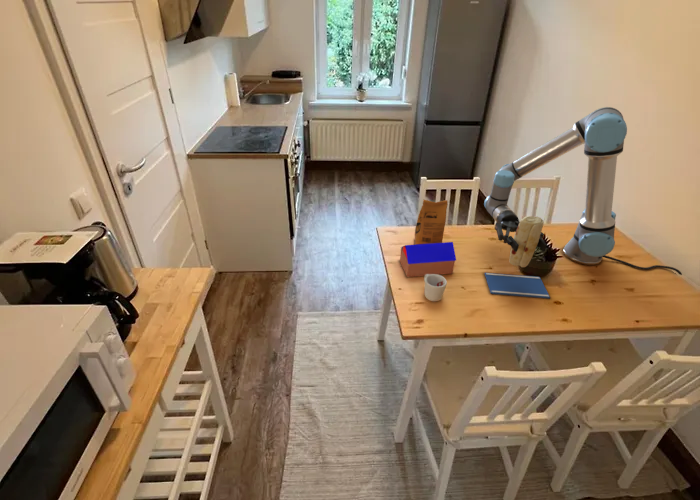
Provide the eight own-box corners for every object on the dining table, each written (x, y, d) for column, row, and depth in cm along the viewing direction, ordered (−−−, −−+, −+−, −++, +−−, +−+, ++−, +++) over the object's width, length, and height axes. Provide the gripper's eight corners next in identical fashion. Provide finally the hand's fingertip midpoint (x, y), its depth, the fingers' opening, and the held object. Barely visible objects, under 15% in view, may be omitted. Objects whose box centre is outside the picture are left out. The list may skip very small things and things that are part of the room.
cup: (414, 288, 149) (417, 271, 145) (432, 284, 152) (435, 267, 147) (429, 306, 141) (432, 289, 136) (447, 301, 143) (451, 284, 139)
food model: (524, 257, 151) (539, 212, 140) (534, 267, 145) (551, 221, 134) (502, 260, 149) (515, 214, 137) (512, 270, 143) (527, 223, 132)
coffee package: (413, 236, 181) (418, 194, 169) (439, 238, 181) (447, 195, 169) (414, 248, 173) (420, 204, 161) (442, 250, 172) (450, 206, 160)
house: (453, 273, 158) (458, 250, 151) (406, 277, 155) (409, 253, 148) (443, 257, 168) (447, 234, 161) (398, 260, 165) (401, 237, 158)
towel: (539, 277, 157) (539, 276, 156) (549, 298, 146) (550, 297, 145) (484, 273, 158) (484, 272, 158) (490, 293, 147) (491, 292, 147)
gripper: (529, 225, 159) (557, 256, 141) (477, 226, 158) (498, 257, 139) (534, 209, 155) (564, 239, 136) (481, 210, 153) (503, 240, 135)
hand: (530, 248), depth 138 cm, fingers closed on food model, 10 cm apart
